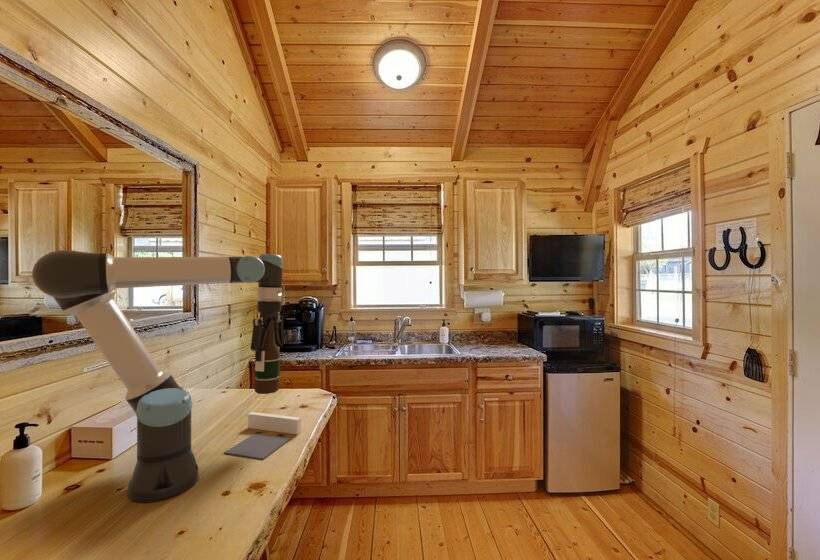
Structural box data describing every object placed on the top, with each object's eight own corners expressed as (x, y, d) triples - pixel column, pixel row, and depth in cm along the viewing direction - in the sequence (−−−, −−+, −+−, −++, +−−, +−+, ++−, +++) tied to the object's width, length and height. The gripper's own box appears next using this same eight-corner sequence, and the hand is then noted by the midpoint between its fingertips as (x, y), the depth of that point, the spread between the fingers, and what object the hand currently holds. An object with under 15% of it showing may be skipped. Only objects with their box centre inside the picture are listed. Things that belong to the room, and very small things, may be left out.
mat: (263, 459, 107) (263, 458, 107) (224, 453, 110) (224, 452, 110) (290, 439, 120) (290, 438, 120) (254, 434, 124) (254, 433, 124)
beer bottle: (248, 392, 119) (251, 319, 120) (267, 386, 126) (269, 317, 127) (265, 395, 116) (268, 321, 116) (284, 389, 123) (286, 319, 123)
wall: (297, 434, 124) (297, 419, 124) (248, 427, 129) (248, 413, 129) (300, 432, 126) (300, 417, 126) (251, 425, 131) (251, 412, 131)
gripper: (260, 301, 111) (257, 376, 110) (296, 299, 131) (293, 362, 130) (239, 300, 112) (236, 374, 112) (277, 298, 132) (275, 361, 132)
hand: (267, 368), depth 121 cm, fingers closed on beer bottle, 8 cm apart
